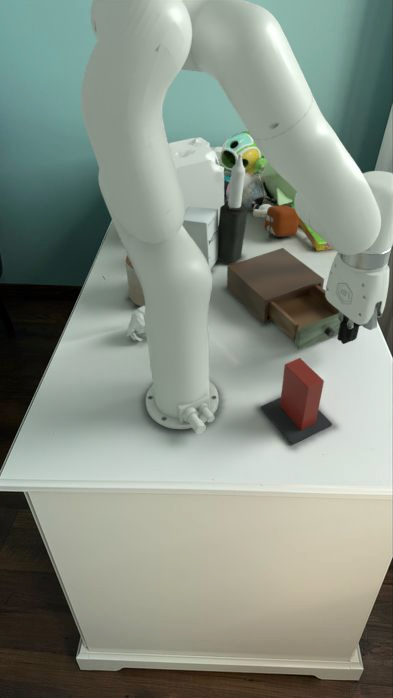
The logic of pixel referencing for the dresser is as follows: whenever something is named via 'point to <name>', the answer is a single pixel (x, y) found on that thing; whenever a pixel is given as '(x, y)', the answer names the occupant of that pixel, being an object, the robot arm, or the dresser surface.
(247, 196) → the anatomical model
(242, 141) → the turtle holder
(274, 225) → the toy
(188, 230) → the white packaging box
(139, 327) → the figurine
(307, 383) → the book
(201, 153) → the tissue box
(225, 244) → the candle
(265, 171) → the toy
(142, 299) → the planter
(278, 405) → the pad
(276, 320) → the drawer
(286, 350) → the dresser surface
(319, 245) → the game box
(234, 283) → the cabinet
